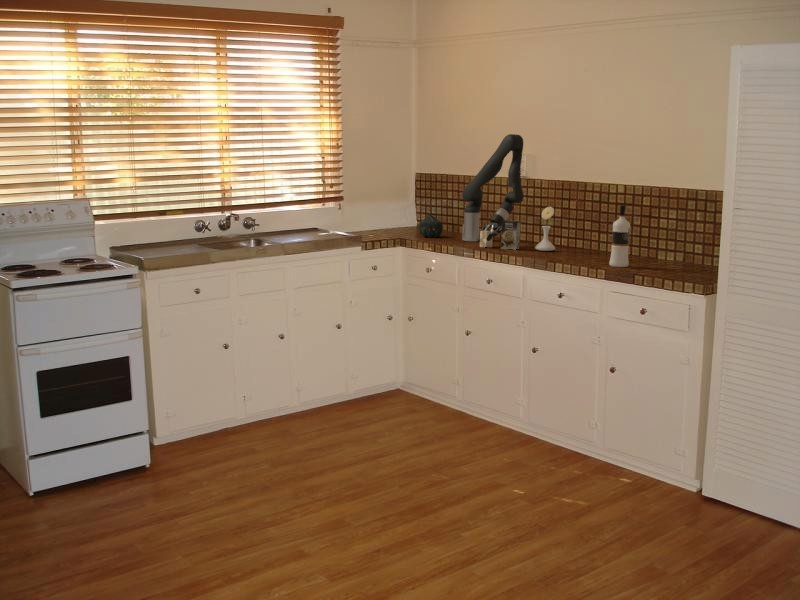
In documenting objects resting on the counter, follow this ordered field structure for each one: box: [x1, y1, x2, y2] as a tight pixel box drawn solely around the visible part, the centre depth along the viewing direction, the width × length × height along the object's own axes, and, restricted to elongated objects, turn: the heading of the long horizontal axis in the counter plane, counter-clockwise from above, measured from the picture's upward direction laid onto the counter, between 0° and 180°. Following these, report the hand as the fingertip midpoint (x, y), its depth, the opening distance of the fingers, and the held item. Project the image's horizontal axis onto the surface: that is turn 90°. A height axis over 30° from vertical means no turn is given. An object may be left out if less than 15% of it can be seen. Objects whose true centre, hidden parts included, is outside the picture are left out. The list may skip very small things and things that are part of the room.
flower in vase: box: [534, 206, 556, 252], centre depth 493 cm, size 13×11×25 cm
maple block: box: [479, 230, 494, 248], centre depth 505 cm, size 5×5×9 cm
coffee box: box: [500, 219, 522, 251], centre depth 498 cm, size 9×6×16 cm
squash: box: [418, 214, 443, 238], centre depth 555 cm, size 14×15×15 cm
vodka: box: [608, 204, 631, 268], centre depth 433 cm, size 9×9×30 cm
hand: (483, 239), depth 504 cm, fingers closed on maple block, 5 cm apart
